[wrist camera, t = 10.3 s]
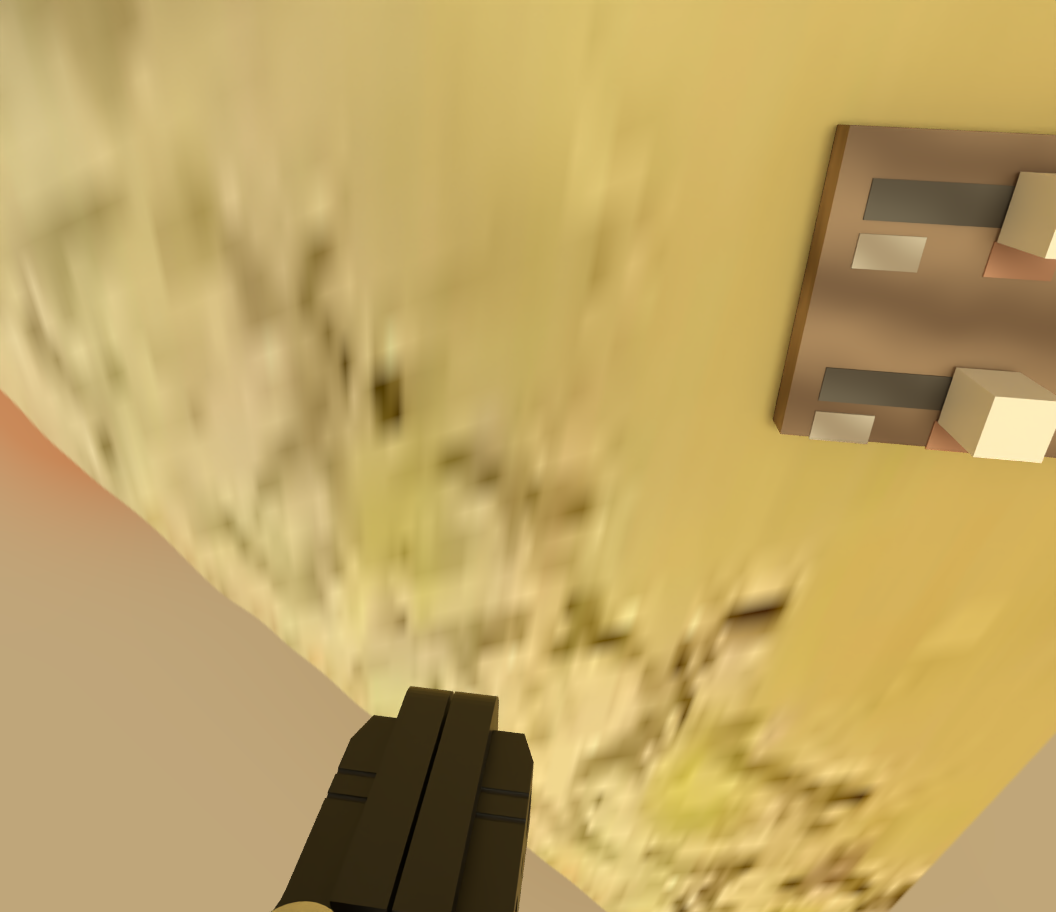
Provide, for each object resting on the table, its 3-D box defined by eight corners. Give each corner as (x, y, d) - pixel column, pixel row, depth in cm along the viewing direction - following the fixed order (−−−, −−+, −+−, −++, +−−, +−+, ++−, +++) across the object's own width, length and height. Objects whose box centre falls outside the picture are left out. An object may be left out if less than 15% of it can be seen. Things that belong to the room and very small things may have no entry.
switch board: (837, 124, 32) (851, 125, 30) (1254, 144, 31) (1296, 146, 29) (772, 420, 39) (780, 436, 37) (1112, 449, 38) (1138, 467, 36)
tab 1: (956, 367, 34) (995, 396, 31) (1020, 372, 34) (1066, 402, 31) (937, 422, 36) (973, 456, 32) (998, 428, 35) (1041, 462, 32)
